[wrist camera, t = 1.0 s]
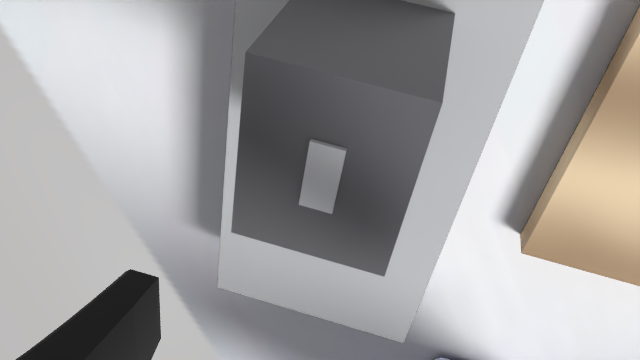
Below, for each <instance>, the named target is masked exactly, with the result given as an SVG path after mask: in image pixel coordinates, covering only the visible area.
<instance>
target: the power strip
mask: <svg viewBox="0 0 640 360" xmlns="http://www.w3.org/2000/svg"><path fill="white" fill-rule="evenodd" d="M288 1H289V0H235V16H234V32H233V48H232V63H231V79H230V95H229V110H228V126H227V142H226V158H225V173H224V189H223V205H222V221H221V236H220V252H219V268H218V283H217V287H218V288H221V289H224V290H228V291H231V292H234V293H238V294H241V295H244V296H248V297H251V298H254V299H258V300H261V301H264V302H268V303H271V304H274V305H278V306H281V307H284V308H288V309H291V310H294V311H298V312H301V313H304V314H308V315H311V316H314V317H317V318H321V319H324V320H327V321H331V322H334V323H337V324H341V325H344V326H347V327H351V328H354V329H357V330H361V331H364V332H367V333H371V334H374V335H377V336H381V337H384V338H387V339H391V340H394V341H397V342H401V343H404V341H405V338H406V336H407V333H408V331H409V329H410V326H411V324H412V321H413V319H414V316H415V314H416V312H417V309H418V307H419V304H420V302H421V299H422V297H423V294H424V292H425V290H426V287H427V285H428V282H429V280H430V277H431V275H432V273H433V270H434V268H435V265H436V263H437V260H438V258H439V255H440V253H441V251H442V248H443V246H444V243H445V241H446V238H447V236H448V234H449V231H450V229H451V226H452V224H453V221H454V219H455V216H456V214H457V212H458V209H459V207H460V204H461V202H462V199H463V197H464V195H465V192H466V190H467V187H468V185H469V182H470V180H471V177H472V175H473V173H474V170H475V168H476V165H477V163H478V160H479V158H480V156H481V153H482V151H483V148H484V146H485V143H486V141H487V138H488V136H489V134H490V131H491V129H492V126H493V124H494V121H495V119H496V117H497V114H498V112H499V109H500V107H501V104H502V102H503V99H504V97H505V95H506V92H507V90H508V87H509V85H510V82H511V80H512V78H513V75H514V73H515V70H516V68H517V65H518V63H519V60H520V58H521V56H522V53H523V51H524V48H525V46H526V43H527V41H528V39H529V36H530V34H531V31H532V29H533V26H534V24H535V21H536V19H537V17H538V14H539V12H540V9H541V7H542V4H543V2H544V0H402V1H407V2H411V3H415V4H419V5H423V6H427V7H431V8H436V9H440V10H444V11H448V12H452V13H455V18H454V25H453V33H452V40H451V47H450V54H449V61H448V68H447V75H446V82H445V90H444V97H443V103H442V106H441V109H440V112H439V115H438V118H437V121H436V124H435V127H434V130H433V133H432V136H431V139H430V142H429V145H428V148H427V151H426V154H425V157H424V160H423V163H422V166H421V169H420V172H419V175H418V178H417V181H416V184H415V187H414V190H413V193H412V196H411V199H410V202H409V205H408V208H407V211H406V214H405V217H404V220H403V223H402V226H401V229H400V232H399V235H398V238H397V241H396V244H395V247H394V250H393V253H392V256H391V259H390V262H389V265H388V268H387V271H386V274H385V277H383V276H380V275H376V274H373V273H369V272H366V271H362V270H359V269H355V268H352V267H349V266H345V265H342V264H338V263H335V262H331V261H328V260H324V259H321V258H318V257H314V256H311V255H307V254H304V253H300V252H297V251H293V250H290V249H286V248H283V247H280V246H276V245H273V244H269V243H266V242H262V241H259V240H255V239H252V238H249V237H245V236H242V235H238V234H235V233H231V227H232V214H233V202H234V189H235V176H236V164H237V151H238V139H239V126H240V113H241V101H242V88H243V76H244V63H245V52H246V51H247V50H248V48H249V47H250V46H251V45H252V44H253V43H254V41H255V40H256V39H257V38H258V37H259V36H260V34H261V33H262V32H263V31H264V30H265V29H266V27H267V26H268V25H269V24H270V23H271V21H272V20H273V19H274V18H275V17H276V16H277V14H278V13H279V12H280V11H281V10H282V9H283V7H284V6H285V5H286V4H287V3H288Z"/></svg>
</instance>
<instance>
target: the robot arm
mask: <svg viewBox="0 0 640 360" xmlns="http://www.w3.org/2000/svg"><path fill="white" fill-rule="evenodd" d="M160 339H161V330H160V303H159V278H158V277H155V276H151V275H148V274H145V273H141V272H137V271H135V270H131V269H130V270H128V271H126V272H125V273H124V274H123V275H122V276H120V277H119V278H118V279H117V280H116V281H114V282H113V283H112V284H111V285H110V286H109V287H107V288H106V289H105V290H104V291H103V292H102V293H100V294H99V295H98V296H97V297H96V298H94V299H93V300H92V301H91V302H90V303H88V304H87V305H86V306H85V307H84V308H82V309H81V310H80V311H79V312H77V313H76V314H75V315H74V316H72V317H71V318H70V319H69V320H67V321H66V322H65V323H64V324H62V325H61V326H60V327H59V328H57V329H56V330H54V331H53V332H52V333H51V334H49V335H48V336H47V337H46V338H44V339H43V340H42V341H40V342H39V343H38V344H36V345H35V346H34V347H32V348H31V349H30V350H28V351H27V352H26V353H24V354H23V355H22V356H20V357H19V358H17V359H16V360H151V359H152V356H153V354H154V352H155V350H156V348H157V345H158V343H159V341H160ZM434 360H449V359H446V358H437V359H434Z"/></svg>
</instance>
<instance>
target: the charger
mask: <svg viewBox="0 0 640 360" xmlns="http://www.w3.org/2000/svg"><path fill="white" fill-rule="evenodd" d="M454 18H455V13H452V12H448V11H444V10H440V9H436V8H431V7H427V6H423V5H419V4H415V3H411V2H407V1H402V0H289V1H288V3H287V4H286V5H285V6H284V7H283V9H282V10H281V11H280V12H279V13H278V14H277V16H276V17H275V18H274V19H273V20H272V21H271V23H270V24H269V25H268V26H267V27H266V29H265V30H264V31H263V32H262V33H261V34H260V36H259V37H258V38H257V39H256V40H255V41H254V43H253V44H252V45H251V46H250V47H249V48H248V50H247V51H246V52H245V63H244V76H243V88H242V101H241V113H240V126H239V139H238V151H237V164H236V176H235V189H234V202H233V214H232V227H231V233H235V234H238V235H242V236H245V237H249V238H252V239H255V240H259V241H262V242H266V243H269V244H273V245H276V246H280V247H283V248H286V249H290V250H293V251H297V252H300V253H304V254H307V255H311V256H314V257H318V258H321V259H324V260H328V261H331V262H335V263H338V264H342V265H345V266H349V267H352V268H355V269H359V270H362V271H366V272H369V273H373V274H376V275H380V276H383V277H385V274H386V271H387V268H388V265H389V262H390V259H391V256H392V253H393V250H394V247H395V244H396V241H397V238H398V235H399V232H400V229H401V226H402V223H403V220H404V217H405V214H406V211H407V208H408V205H409V202H410V199H411V196H412V193H413V190H414V187H415V184H416V181H417V178H418V175H419V172H420V169H421V166H422V163H423V160H424V157H425V154H426V151H427V148H428V145H429V142H430V139H431V136H432V133H433V130H434V127H435V124H436V121H437V118H438V115H439V112H440V109H441V106H442V103H443V97H444V90H445V82H446V75H447V68H448V61H449V54H450V47H451V40H452V33H453V25H454Z"/></svg>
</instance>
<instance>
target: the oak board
mask: <svg viewBox="0 0 640 360" xmlns="http://www.w3.org/2000/svg"><path fill="white" fill-rule="evenodd" d="M520 238H521V253H523V254H526V255H530V256H534V257H537V258H541V259H544V260H548V261H551V262H555V263H559V264H562V265H566V266H569V267H573V268H577V269H580V270H584V271H587V272H591V273H594V274H598V275H602V276H605V277H609V278H612V279H616V280H620V281H623V282H627V283H630V284H634V285H637V286H640V7H639V8H638V10H637V12H636V14H635V16H634V18H633V20H632V22H631V24H630V26H629V28H628V30H627V31H626V33H625V35H624V37H623V39H622V41H621V43H620V45H619V47H618V49H617V51H616V53H615V55H614V56H613V58H612V60H611V62H610V64H609V66H608V68H607V70H606V72H605V74H604V76H603V78H602V79H601V81H600V83H599V85H598V87H597V89H596V91H595V93H594V95H593V97H592V99H591V101H590V103H589V104H588V106H587V108H586V110H585V112H584V114H583V116H582V118H581V120H580V122H579V124H578V126H577V127H576V129H575V131H574V133H573V135H572V137H571V139H570V141H569V143H568V145H567V147H566V149H565V150H564V152H563V154H562V156H561V158H560V160H559V162H558V164H557V166H556V168H555V170H554V172H553V174H552V175H551V177H550V179H549V181H548V183H547V185H546V187H545V189H544V191H543V193H542V195H541V197H540V198H539V200H538V202H537V204H536V206H535V208H534V210H533V212H532V214H531V216H530V218H529V220H528V222H527V223H526V225H525V227H524V229H523V231H522V233H521V235H520Z"/></svg>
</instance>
